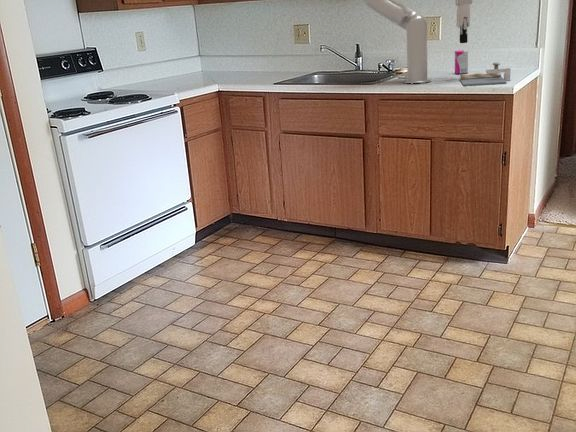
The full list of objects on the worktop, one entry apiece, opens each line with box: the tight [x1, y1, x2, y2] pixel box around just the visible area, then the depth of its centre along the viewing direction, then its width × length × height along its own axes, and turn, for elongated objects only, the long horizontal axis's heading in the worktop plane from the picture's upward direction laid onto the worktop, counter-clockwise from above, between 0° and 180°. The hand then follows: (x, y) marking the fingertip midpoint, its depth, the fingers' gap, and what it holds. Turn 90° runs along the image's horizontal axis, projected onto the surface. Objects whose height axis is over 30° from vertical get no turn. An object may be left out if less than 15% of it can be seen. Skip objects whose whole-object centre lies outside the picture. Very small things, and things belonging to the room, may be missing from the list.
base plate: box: [459, 76, 507, 87], centre depth 284 cm, size 18×20×1 cm
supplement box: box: [454, 49, 469, 76], centre depth 314 cm, size 6×6×12 cm
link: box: [459, 62, 502, 79], centre depth 289 cm, size 18×4×6 cm, turn 79°
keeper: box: [485, 67, 511, 82], centre depth 282 cm, size 10×2×5 cm, turn 79°
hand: (463, 42), depth 291 cm, fingers closed
